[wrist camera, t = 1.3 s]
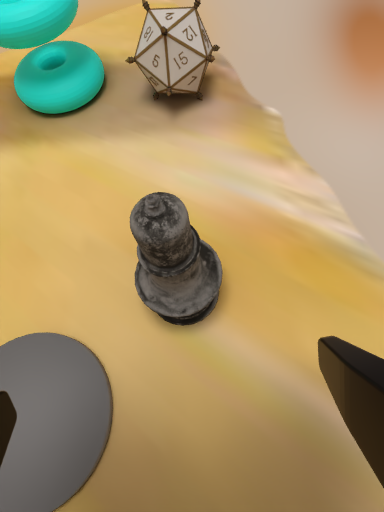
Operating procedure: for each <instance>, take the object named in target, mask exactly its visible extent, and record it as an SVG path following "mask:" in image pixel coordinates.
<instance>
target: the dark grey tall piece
mask: <svg viewBox="0 0 384 512" xmlns="http://www.w3.org/2000/svg"><path fill="white" fill-rule="evenodd" d="M130 228H131V231H132V234H133V236H134V238H135V239H136V241H137V243H138V246H137V256H138V259H139V262H138V263H137V267H136V271H135V286H136V289H137V292H138V295H139V296H140V298H141V299H142V301H143V302H144V304H145V305H147V306H148V307H149V308H150V309H151V310H153V311H154V312H157V314H158V315H159V316H160V317H162V318H163V319H164V320H165V321H167V322H170V323H172V324H176V325H190V324H194V323H197V322H199V321H201V320H203V319H204V318H205V317H207V316H208V315H209V314H210V313H211V311H212V310H213V309H214V307H215V305H216V303H217V300H218V294H219V288H220V286H221V281H222V267H221V262H220V260H219V257H218V255H217V253H216V252H215V251H214V250H213V248H212V247H211V246H210V245H209V244H207V243H206V242H204V241H203V240H201V239H200V238H199V235H198V233H197V231H196V230H195V229H194V228H193V226H191V225H190V221H189V216H188V212H187V209H186V207H185V205H184V204H183V202H182V201H181V200H180V199H179V198H178V197H176V196H174V195H172V194H169V193H164V192H157V193H152V194H149V195H147V196H145V197H143V198H142V199H141V200H140V201H139V202H138V203H137V204H136V205H135V206H134V208H133V210H132V212H131V215H130Z"/></svg>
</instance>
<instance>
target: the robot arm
mask: <svg viewBox="0 0 384 512" xmlns="http://www.w3.org/2000/svg"><path fill="white" fill-rule="evenodd" d="M318 357H319V366H320V370H321V372H322V374H323V376H324V379H325V381H326V383H327V385H328V387H329V389H330V392H331V394H332V396H333V398H334V400H335V403H336V405H337V407H338V409H339V411H340V413H341V415H342V418H343V420H344V422H345V424H346V425H347V427H348V429H349V431H350V432H351V434H352V436H353V437H354V439H355V441H356V443H357V444H358V446H359V448H360V449H361V451H362V453H363V454H364V456H365V458H366V459H367V461H368V463H369V464H370V466H371V468H372V469H373V471H374V473H375V475H376V476H377V478H378V480H379V481H380V483H381V485H382V486H383V488H384V359H382V358H380V357H378V356H376V355H373V354H371V353H369V352H367V351H365V350H363V349H361V348H359V347H356V346H354V345H352V344H350V343H348V342H346V341H344V340H341V339H339V338H337V337H335V336H328V337H322V338H320V339H319V340H318ZM16 421H17V412H16V409H15V407H14V405H13V403H12V401H11V398H10V396H9V394H8V393H7V392H6V391H3V390H2V391H0V468H1V465H2V462H3V459H4V456H5V453H6V450H7V447H8V444H9V441H10V439H11V436H12V433H13V430H14V427H15V424H16Z"/></svg>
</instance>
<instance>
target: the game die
mask: <svg viewBox="0 0 384 512" xmlns="http://www.w3.org/2000/svg"><path fill="white" fill-rule="evenodd" d="M142 2H143V6H144V9H146V10H147V14H146V17H145V21H144V24H143V28H142V32H141V35H140V39H139V42H138V46H137V49H136V53H135V57H134V58H133V57H128V59H127V60H125V61H126V62H128V63H133V62H136V64H137V65H138V66H139V68H140V69H141V71H142V72H143V74H144V75H145V76H146V78H147V79H148V81H149V82H150V83H151V85H152V86H153V88H154V89H155V91H156V93H154V95H153V96H154V100H156V99H158V96H159V93H166V94H167V95H168V96H169V95H171V94H172V93H196V94H197V97H198V99H200V100H202V96H203V95H201V93H200V92H199V89H200V86H201V83H202V80H203V77H204V75H205V72H206V69H207V66H208V63H209V62H211V63H212V62H213V61H214V60H215V58H214V56H212V55H211V54H212V51H218V49H219V48H220V47H218V46H217V45H214V46H213V47H212V45H211V42H210V40H209V38H208V35H207V33H206V31H205V28H204V26H203V24H202V21H201V19H200V17H199V14H198V11H197V8H198V7H199V5H200V4H201V3H200V0H195V3H194V7H179V8H156V9H150V8H149V4H148V3H147V2H146V1H145V0H142Z"/></svg>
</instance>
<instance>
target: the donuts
mask: <svg viewBox="0 0 384 512" xmlns="http://www.w3.org/2000/svg"><path fill="white" fill-rule="evenodd" d="M77 8H78V0H0V47H4V48H9V49H25V48H32V47H36V46H39V45H42V44H44V45H42V46H40V47H38V48H36V49H34V50H33V51H31V52H30V53H28V54H27V55H26V56H25V57H24V58H23V59H22V60H21V62H20V63H19V65H18V67H17V69H16V72H15V76H14V86H15V90H16V92H17V95H18V96H19V98H20V99H21V100H22V102H23V103H25V104H26V105H27V106H28V107H30V108H32V109H33V110H36V111H38V112H42V113H49V114H58V113H64V112H69V111H72V110H75V109H77V108H79V107H81V106H83V105H85V104H86V103H88V102H89V101H90V100H92V99H93V98H94V97H95V96H96V94H97V93H98V92H99V90H100V88H101V86H102V84H103V81H104V67H103V64H102V61H101V60H100V58H99V56H98V55H97V54H96V53H95V52H94V51H93V50H92V49H90V48H89V47H87V46H86V45H83V44H81V43H78V42H73V41H56V42H51V43H47V42H49V41H51V40H53V39H55V38H56V37H58V36H59V35H61V34H62V33H63V32H64V31H65V30H66V29H67V28H68V27H69V26H70V24H71V23H72V21H73V19H74V17H75V15H76V12H77ZM45 43H47V44H45Z"/></svg>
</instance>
